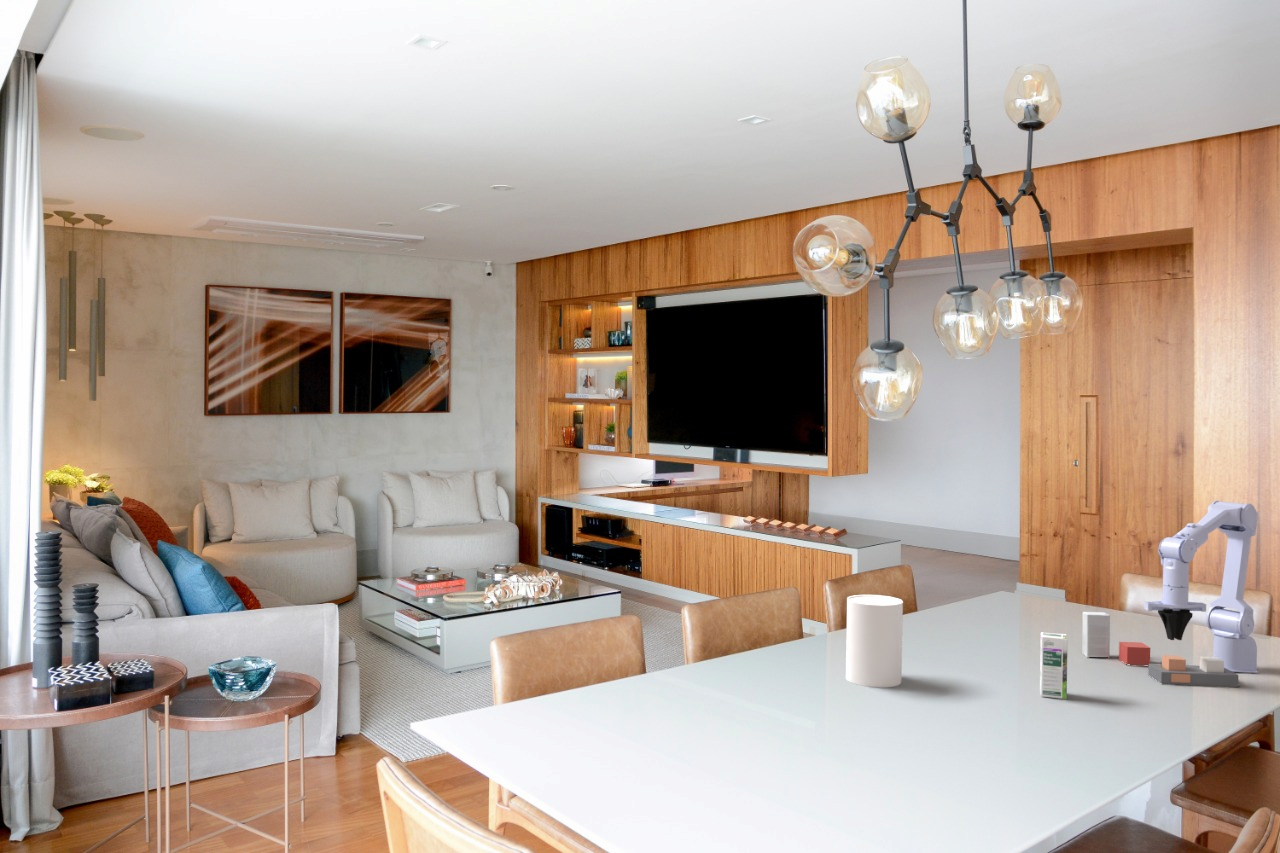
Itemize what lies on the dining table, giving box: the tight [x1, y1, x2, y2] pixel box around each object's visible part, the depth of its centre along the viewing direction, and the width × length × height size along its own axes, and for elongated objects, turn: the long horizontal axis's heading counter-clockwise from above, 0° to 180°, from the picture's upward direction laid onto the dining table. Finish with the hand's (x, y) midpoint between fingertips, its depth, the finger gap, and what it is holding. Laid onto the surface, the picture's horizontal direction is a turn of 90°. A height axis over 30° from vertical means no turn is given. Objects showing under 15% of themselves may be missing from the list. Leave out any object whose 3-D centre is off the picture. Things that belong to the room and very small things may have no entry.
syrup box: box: [1039, 631, 1069, 700], centre depth 232 cm, size 6×6×14 cm
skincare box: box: [1081, 611, 1111, 659], centre depth 269 cm, size 6×4×12 cm
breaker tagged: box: [1161, 654, 1187, 671], centre depth 246 cm, size 4×4×4 cm
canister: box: [845, 594, 904, 688], centre depth 244 cm, size 14×14×20 cm
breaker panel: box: [1147, 663, 1239, 688], centre depth 245 cm, size 18×8×3 cm, turn 83°
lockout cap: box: [1118, 641, 1151, 667], centre depth 262 cm, size 6×6×5 cm
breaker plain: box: [1199, 656, 1224, 673], centre depth 245 cm, size 4×4×4 cm
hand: (1174, 639), depth 246 cm, fingers closed
